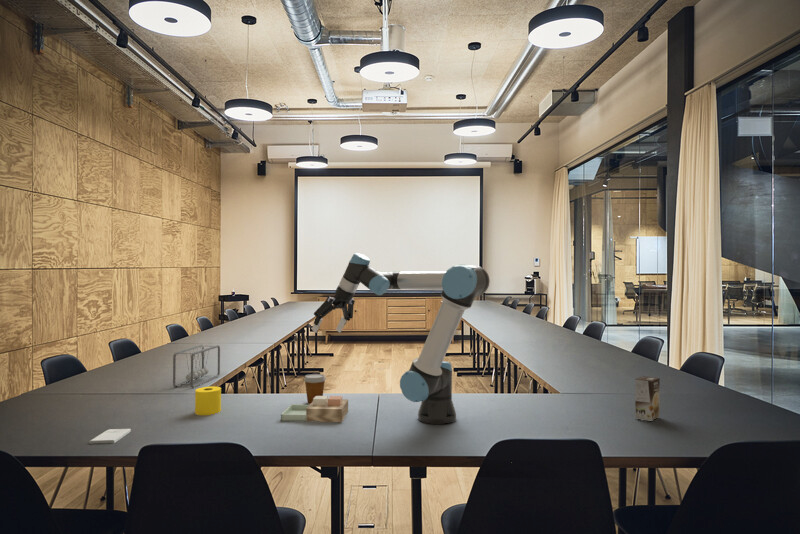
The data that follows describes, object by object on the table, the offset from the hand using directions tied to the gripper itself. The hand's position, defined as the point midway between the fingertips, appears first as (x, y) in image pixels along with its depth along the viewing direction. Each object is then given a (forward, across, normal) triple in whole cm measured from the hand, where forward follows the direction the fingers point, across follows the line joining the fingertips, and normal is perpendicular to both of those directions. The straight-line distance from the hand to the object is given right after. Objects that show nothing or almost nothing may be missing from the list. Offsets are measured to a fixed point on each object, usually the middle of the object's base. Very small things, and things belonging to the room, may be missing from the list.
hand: (326, 331), depth 209 cm
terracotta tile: (+20, +1, +23) cm, 30 cm away
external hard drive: (+51, +69, -7) cm, 86 cm away
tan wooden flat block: (+25, +3, +24) cm, 35 cm away
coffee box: (-31, -78, +106) cm, 135 cm away
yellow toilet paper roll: (+49, +31, -12) cm, 59 cm away
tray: (+31, +10, +15) cm, 36 cm away
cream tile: (+22, +5, +19) cm, 30 cm away
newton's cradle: (+76, +5, -62) cm, 99 cm away
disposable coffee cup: (+35, -7, +6) cm, 36 cm away
